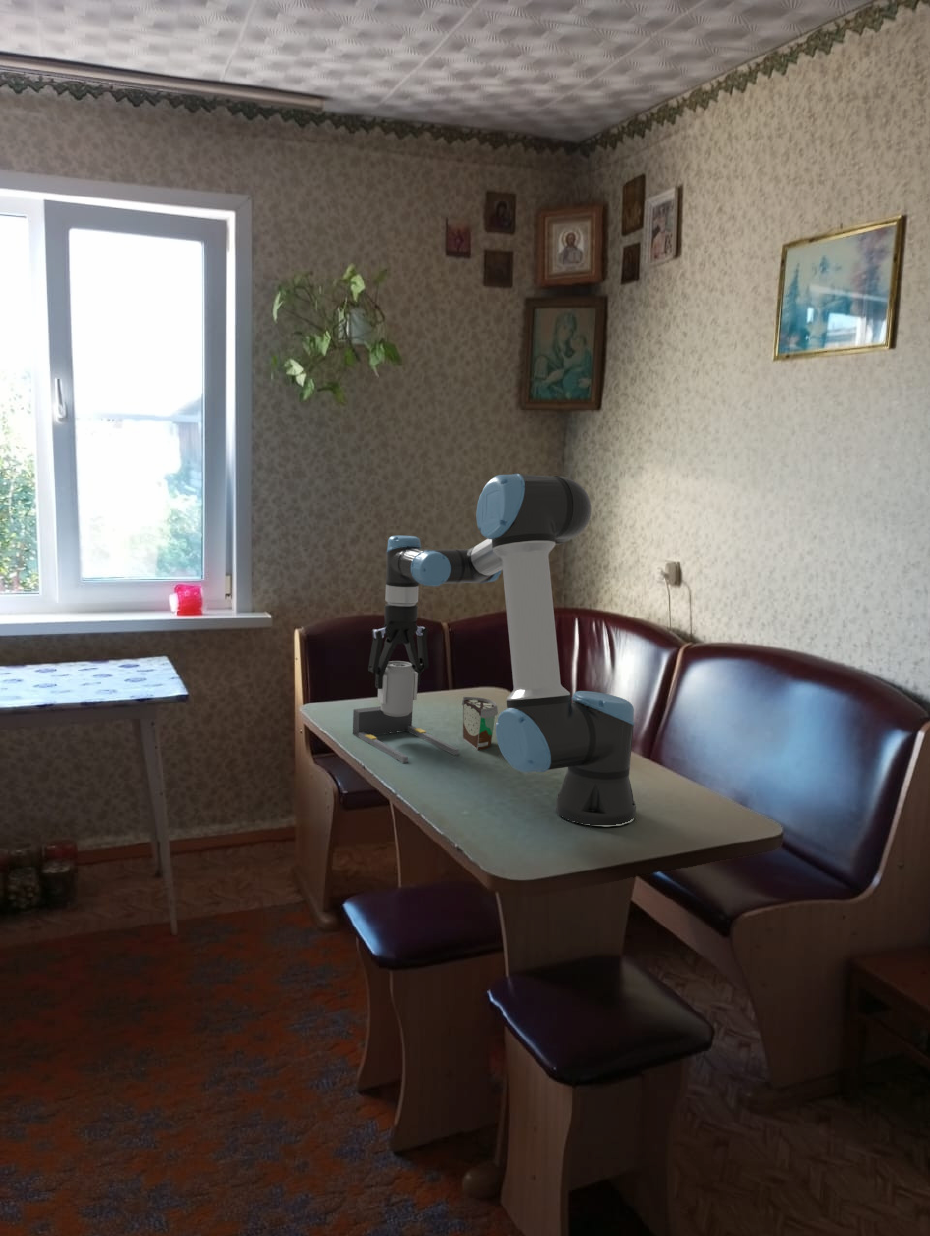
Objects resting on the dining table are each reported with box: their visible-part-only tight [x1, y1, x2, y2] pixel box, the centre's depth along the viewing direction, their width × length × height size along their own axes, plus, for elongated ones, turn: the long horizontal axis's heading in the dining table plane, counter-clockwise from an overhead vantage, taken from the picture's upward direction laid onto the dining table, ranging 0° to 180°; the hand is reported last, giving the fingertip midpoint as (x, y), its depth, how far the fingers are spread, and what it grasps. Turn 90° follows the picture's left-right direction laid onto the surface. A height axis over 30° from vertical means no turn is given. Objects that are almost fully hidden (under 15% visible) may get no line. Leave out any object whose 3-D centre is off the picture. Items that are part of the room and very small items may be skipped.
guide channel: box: [352, 705, 460, 764], centre depth 221 cm, size 24×15×6 cm, turn 33°
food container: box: [461, 696, 499, 751], centre depth 224 cm, size 12×6×10 cm, turn 22°
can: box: [380, 660, 414, 717], centre depth 223 cm, size 8×8×12 cm
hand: (397, 700), depth 223 cm, fingers closed on can, 7 cm apart
